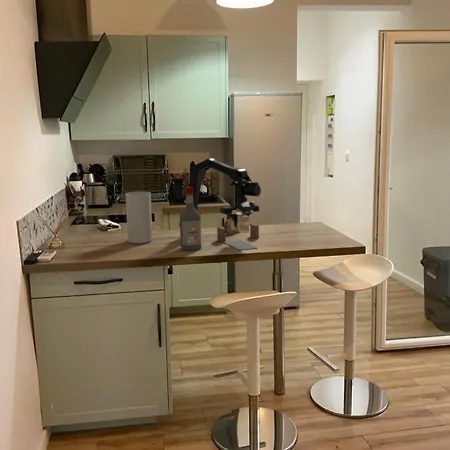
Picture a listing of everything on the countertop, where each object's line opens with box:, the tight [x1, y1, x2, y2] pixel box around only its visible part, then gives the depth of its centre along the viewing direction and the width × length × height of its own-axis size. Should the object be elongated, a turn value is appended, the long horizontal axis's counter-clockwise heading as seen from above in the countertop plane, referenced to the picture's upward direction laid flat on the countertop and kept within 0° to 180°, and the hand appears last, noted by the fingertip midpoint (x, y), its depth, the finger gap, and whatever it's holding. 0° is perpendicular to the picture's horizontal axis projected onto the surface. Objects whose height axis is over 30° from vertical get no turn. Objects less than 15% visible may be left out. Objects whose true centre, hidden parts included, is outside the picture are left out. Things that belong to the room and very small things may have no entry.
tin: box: [223, 218, 240, 236], centre depth 288 cm, size 15×3×8 cm, turn 143°
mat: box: [223, 239, 258, 252], centre depth 260 cm, size 10×18×1 cm, turn 24°
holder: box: [216, 223, 260, 244], centre depth 273 cm, size 21×6×7 cm, turn 114°
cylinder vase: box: [125, 191, 153, 245], centre depth 270 cm, size 12×12×25 cm
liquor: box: [179, 186, 202, 252], centre depth 252 cm, size 9×9×30 cm
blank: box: [230, 211, 250, 234], centre depth 257 cm, size 12×4×8 cm, turn 24°
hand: (239, 226), depth 258 cm, fingers closed on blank, 4 cm apart
